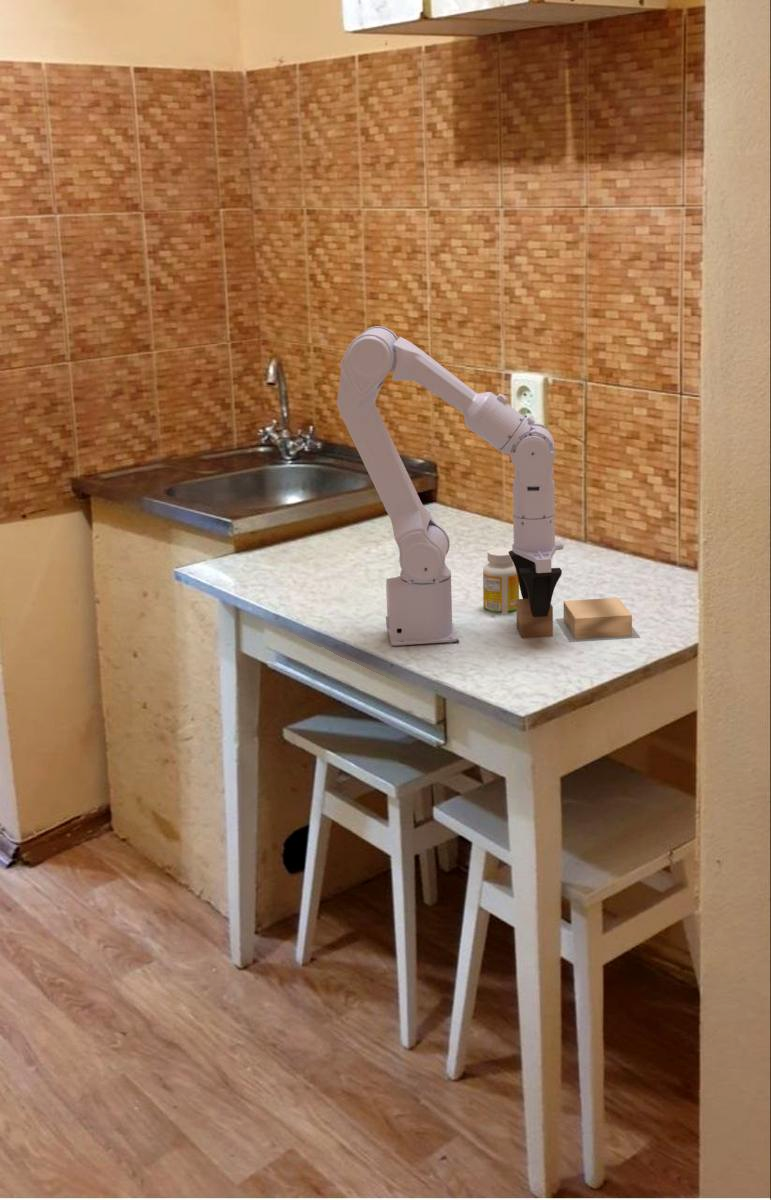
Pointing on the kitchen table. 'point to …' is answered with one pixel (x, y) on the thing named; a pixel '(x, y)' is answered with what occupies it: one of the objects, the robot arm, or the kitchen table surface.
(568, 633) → the baseplate
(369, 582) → the kitchen table surface
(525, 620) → the walnut block
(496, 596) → the supplement bottle
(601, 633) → the oak brick
